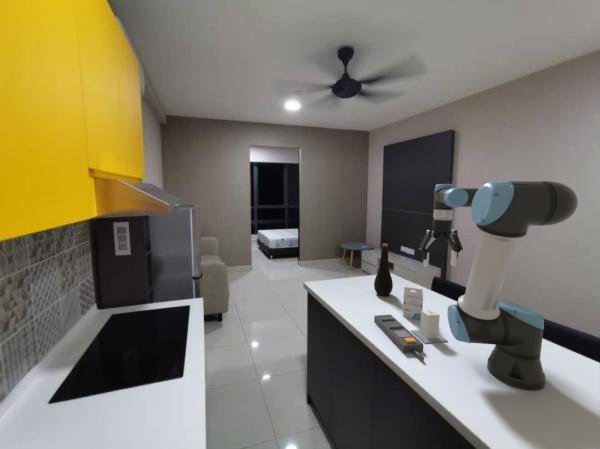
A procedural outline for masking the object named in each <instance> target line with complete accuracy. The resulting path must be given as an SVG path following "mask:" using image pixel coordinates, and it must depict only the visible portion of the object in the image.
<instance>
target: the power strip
mask: <svg viewBox="0 0 600 449" xmlns="http://www.w3.org/2000/svg"><path fill="white" fill-rule="evenodd" d="M373 318H374V321H373V322H374V323H375V324H376V325H377V327H378V328H379V329H381V331H382V333H384V334H385V335H386V336H387V337H388V338H389V339H390V340H391V341H392V344H394V345H395V346H396V347H397V348H398V349H399V351H401V353H403V354H410V353H411V354H412V353H413V354H415V356H417V358H418V359H420V361H422V362H423V361H425V358H424V356H422V354H421V352H422V353H423V352H424V342H422V341H421V340H420V339H419V338H418V337H417V336H416V335H415V334H413V333H412V332H411V330H409V329H407V328H406V327H405V326H404V325H403V324H402V323H401V322H400V321H399V320H397V319H396V318H395V317H394V316H393V315H392V314H380V315H379V314H377V315H374V317H373Z"/></svg>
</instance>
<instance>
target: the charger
mask: <svg viewBox="0 0 600 449" xmlns="http://www.w3.org/2000/svg"><path fill="white" fill-rule="evenodd" d="M419 323H420V326H419V330H420V334H422V335H423V336H424V337H425V338H426V339H433V338H438V334H439V331H440V330H439V329H440V313H438V312H436V311H435V310H433V309H422V310H421V320H420V322H419Z"/></svg>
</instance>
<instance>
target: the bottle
mask: <svg viewBox="0 0 600 449" xmlns="http://www.w3.org/2000/svg"><path fill="white" fill-rule="evenodd" d="M381 245H382V246H381V249H380V250H381V251H380V252H381V253H380V260H379V264H378V265H379V266H378V268H377V269H378V271H377V274H376V275H375V278H374V282H373V287H374V288H373V289H374V291H375V292H376V295H377V296H379V297H386V298H387V297H389V296H390V294H391V293H392V291H393V286H394V285H393V284H394V283H393V278H392V275H391V271H390V263H389V246H388V245H389V244H388V243H382V244H381Z"/></svg>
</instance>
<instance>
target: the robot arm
mask: <svg viewBox="0 0 600 449" xmlns="http://www.w3.org/2000/svg"><path fill="white" fill-rule="evenodd" d="M433 196H434V201H433V216H432V217H433V220H432V230H429V229H426V230H425V235H424V237H423V239H422V240H421V242H420V245H419V247H418V251H420V252H421V253H422V256H421V258H422V260H423V265H422V266H423V267H425V268H429V266H430V263H429V262H430V252H429V251H431V249H432V247H433V246H434V245H435V244H436V243H437V242H438V241H446V242H447V244H448V245H449V246H450V248H451V249H452V250H451V252H450V266H452V267H457V260H458V259H459V253H460V252H461V251H463V250H464V247H463V245H462V242H461V240H460V237H459V235H458V230H457V229H452V228H453V220H452V219H453V211H454V208H470V209H471V212H470V216H471V219H472V221H473V222H474V223H475V224H476V225H475V227H476V228H477V229H478V230H479V232H480V235H479V237H478V241H477V245H476V250H475V253H474V257H473V261H472V266H471V269H470V271H469V272H470V274H469V277H468V281H467V285H466V289H465V293H464V294H462V295H460V296H459V297H458V300H457V302H456V304H454V303H452V304H449V305H448V307H447V319H448V321H447V322H448V325H449V328H450V332H451V334H452V336H453V338H455V340H456V341H458V342H462V343H467V344H483V345H494V348H493V349H492V351H491V353H490V355H489V357H488V359H487V365H486V368H487V370H488V372H489V373H490V374H491V375H492V376H494V377H495V378H496V379H498V380H499V381H501V382H502V383H505V384H507V385H510V386H512V387H516V388H518V389H522V390H528V391H538V390H542V389H543V388H545V387H546V381H547V380H546V374H545V373H544V369H543V365H542V361H541V353H542V346H543V344H542V343H543V337H544V330H545V324H544V323H545V319H544V316H543V315H542V313H540V312H539V311H538V310H536V309H534V308H532V307H529V306H526V305H524V304H520V303H516V302H513V301H505V300H504V301H500V302H498V300H499V299H500V294H501V291H502V288H503V285H504V281H505V278H506V276H507V272H508V269H509V266H510V263H511V260H512V257H513V254H514V250H515V247H516V245H517V241H518V240H520V239H523V238H524V237H526V235H527V234H528V230H529V228H530V226H531V227H533V226H553V225H557V224H560V223H563V222H565V221H566V220H568V219H569V218H571V217H572V215H574V213H575V212H576V210H577V208H578V205H579V200H578V197H577V194H576V192H575V191H574V190H573V189H572V188H571V187H570V186H567V185H566V184H564V183H560V182H557V181H549V180H542V181H541V180H540V181H539V180H538V181H537V180H535V181H534V180H531V181H526V180H525V181H523V180H517V181H516V180H513V181H512V180H500V181H489V182H487V183H484V184H482V185H481V186H480V187H479V188H475V187H473V188H472V187H470V188H469V187H455V185H454V184H453V183H441V184H440V183H436V185H435V187H434V195H433ZM497 303H498V305H497Z"/></svg>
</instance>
